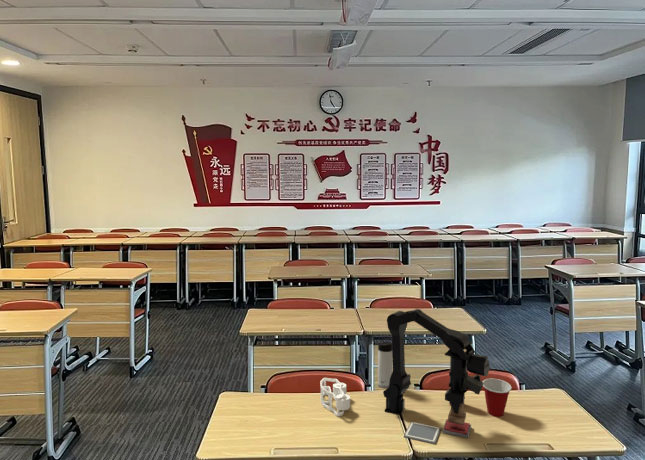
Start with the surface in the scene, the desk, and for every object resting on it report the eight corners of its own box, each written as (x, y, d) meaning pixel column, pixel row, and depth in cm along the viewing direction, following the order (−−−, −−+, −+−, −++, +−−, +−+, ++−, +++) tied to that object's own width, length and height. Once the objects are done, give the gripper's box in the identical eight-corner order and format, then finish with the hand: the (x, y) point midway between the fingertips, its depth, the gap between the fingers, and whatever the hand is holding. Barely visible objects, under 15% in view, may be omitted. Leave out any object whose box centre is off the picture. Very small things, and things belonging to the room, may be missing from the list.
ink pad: (442, 432, 165) (442, 428, 165) (446, 422, 172) (446, 418, 172) (468, 438, 161) (468, 433, 161) (471, 427, 168) (471, 423, 168)
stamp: (448, 421, 165) (448, 397, 164) (450, 415, 170) (451, 391, 169) (463, 425, 163) (464, 400, 162) (465, 418, 168) (466, 394, 167)
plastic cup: (487, 420, 173) (487, 390, 172) (477, 407, 184) (478, 378, 183) (515, 420, 174) (516, 390, 173) (504, 407, 184) (505, 378, 183)
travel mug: (383, 390, 200) (383, 345, 198) (375, 384, 206) (375, 341, 204) (395, 387, 203) (395, 343, 201) (386, 381, 209) (386, 339, 207)
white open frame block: (351, 415, 178) (351, 397, 177) (323, 417, 177) (323, 398, 176) (344, 393, 198) (344, 376, 197) (319, 394, 197) (319, 377, 196)
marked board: (403, 437, 162) (403, 435, 162) (411, 422, 172) (411, 421, 172) (435, 444, 158) (435, 442, 158) (440, 429, 168) (440, 427, 167)
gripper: (479, 383, 153) (477, 427, 154) (484, 363, 170) (483, 404, 171) (445, 377, 158) (444, 420, 159) (453, 359, 174) (452, 398, 176)
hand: (457, 410), depth 166 cm, fingers closed on stamp, 4 cm apart
